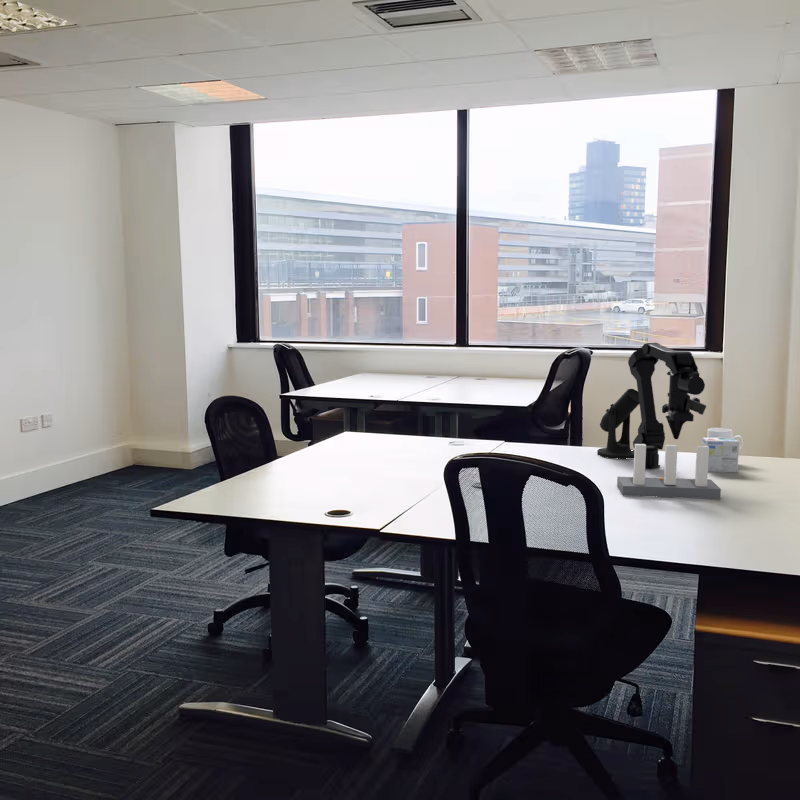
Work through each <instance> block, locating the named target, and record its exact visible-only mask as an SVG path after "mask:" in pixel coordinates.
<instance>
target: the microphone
mask: <svg viewBox="0 0 800 800" xmlns="http://www.w3.org/2000/svg"><path fill="white" fill-rule="evenodd" d="M638 406H640V404H639V396H638V390H636V389H634V388H628V389H626V391H625V392H624V393H622V395H621V396H620V397H619V398H618V399H617V400H616V402H614V403H611V404H610V407H609V408H607V409H606V410H605V413H604V415H603V416H602V417H601V420H600V423H599V427H600V428H601V429H602V430H603V432H606V433H607V443H606V447H602V448H599V449H597V456H599V455H600V456H599V457H601V456H602V457H601V458H605V457H608V458H607V459H611V458H618V459H617V460H627V459H626V458H634V448H633V449H632V448H631V441H630V440H631V438H630V436H631V435H630V428H631V427H630V425H631V414H632V413H633V412H634V410H635V409H636V408H637V407H638ZM621 425H622V428H621V435H620V439H619V440H618V441H617V435H616V433H617V432H616V429H618V427H620V426H621ZM631 450H633V451H631Z"/></svg>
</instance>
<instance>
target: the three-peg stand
mask: <svg viewBox="0 0 800 800" xmlns="http://www.w3.org/2000/svg"><path fill="white" fill-rule="evenodd" d="M633 450H634V459H633V476H617V479H616V487H617V489H618V488H619V489H618V491H619V493H620V494H621V496H622V495H623V496H624V497H645V496H655V497H656V496H657V497H656V498H675V497H684V498H685V497H687V498H685V499H704V500H705V499H709V500H712V499H713V500H721V495H722V494H721V493H722V488H721V487H720V486H718V485H717V484H716V483H715V482H714V480H712V478H711V479H708V474H709V472H708V459H709V447H708V446H702V445H696V456H695V457H696V458H695V475H694V476H695V477H694V478H677V477H676V485H665V484H664V477H645V476H646V468H645V460H646V445H645V444H635V448H633ZM655 497H654V498H655ZM684 498H683V499H684Z"/></svg>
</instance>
